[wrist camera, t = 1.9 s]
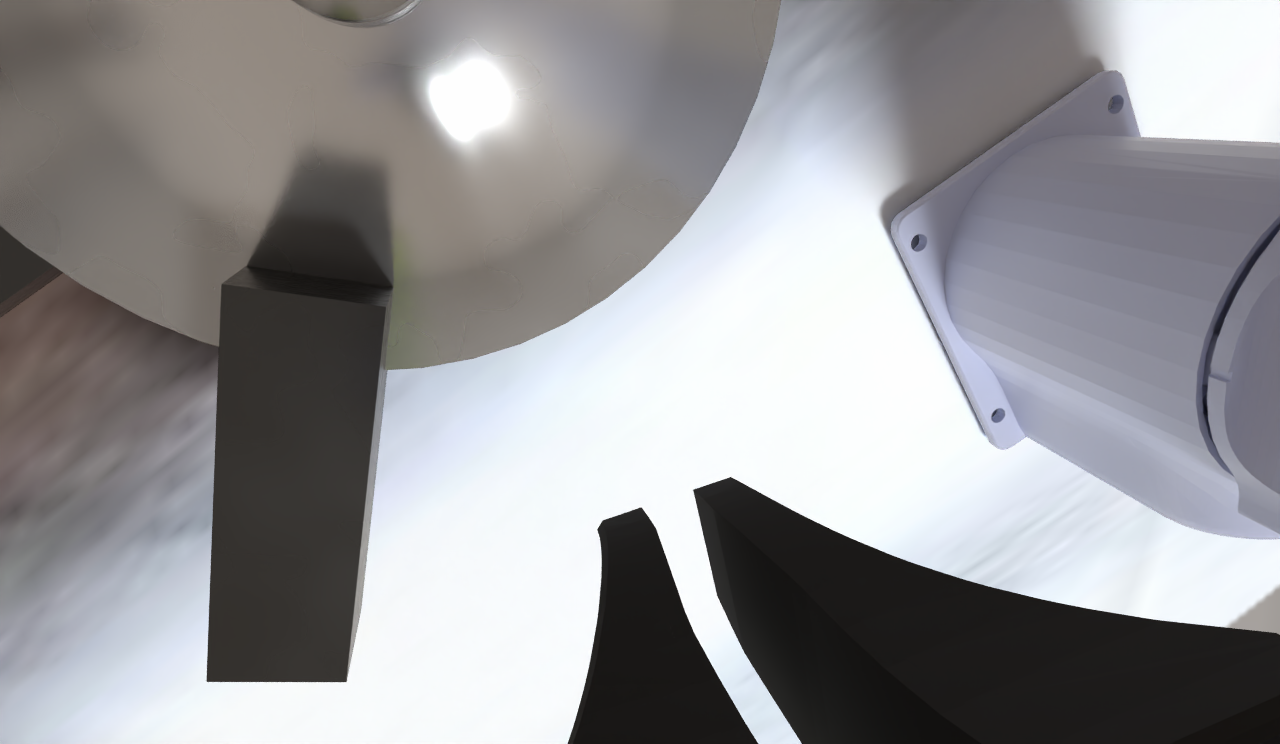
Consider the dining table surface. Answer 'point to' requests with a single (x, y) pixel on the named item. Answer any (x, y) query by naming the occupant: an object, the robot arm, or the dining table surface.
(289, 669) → the cooker lid
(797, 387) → the dining table surface
